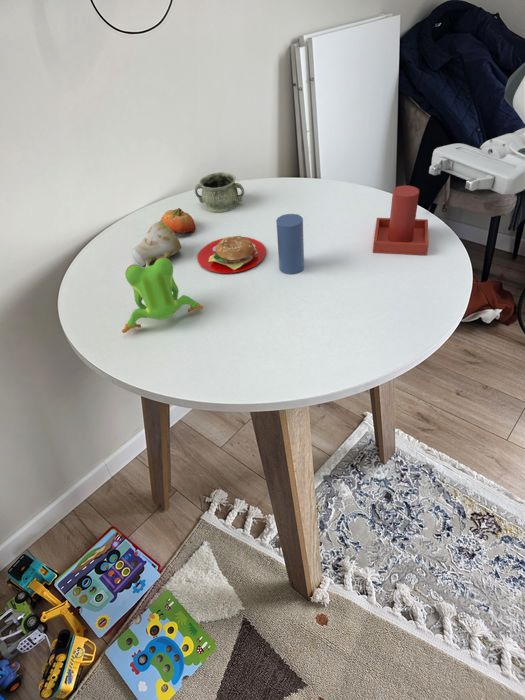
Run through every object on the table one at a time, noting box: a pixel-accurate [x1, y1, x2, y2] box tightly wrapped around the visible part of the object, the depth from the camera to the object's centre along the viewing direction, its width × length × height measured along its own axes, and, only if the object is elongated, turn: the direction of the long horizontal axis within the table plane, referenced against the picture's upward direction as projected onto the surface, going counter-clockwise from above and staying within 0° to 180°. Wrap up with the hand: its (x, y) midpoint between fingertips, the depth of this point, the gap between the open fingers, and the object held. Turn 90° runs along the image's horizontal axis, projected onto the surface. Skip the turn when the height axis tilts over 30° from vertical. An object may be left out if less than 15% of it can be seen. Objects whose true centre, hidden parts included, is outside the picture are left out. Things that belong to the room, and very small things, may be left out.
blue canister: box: [275, 213, 305, 275], centre depth 91 cm, size 5×5×10 cm
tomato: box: [160, 207, 196, 234], centre depth 108 cm, size 8×7×7 cm
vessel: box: [194, 172, 245, 213], centre depth 115 cm, size 12×9×6 cm
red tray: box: [372, 217, 429, 256], centre depth 98 cm, size 10×10×2 cm
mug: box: [130, 220, 182, 267], centre depth 99 cm, size 8×10×10 cm
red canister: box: [388, 185, 420, 243], centre depth 95 cm, size 5×5×10 cm
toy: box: [121, 257, 204, 334], centre depth 83 cm, size 14×9×10 cm, turn 112°
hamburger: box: [197, 235, 267, 274], centre depth 97 cm, size 14×14×6 cm
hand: (449, 178), depth 96 cm, fingers open, 8 cm apart
